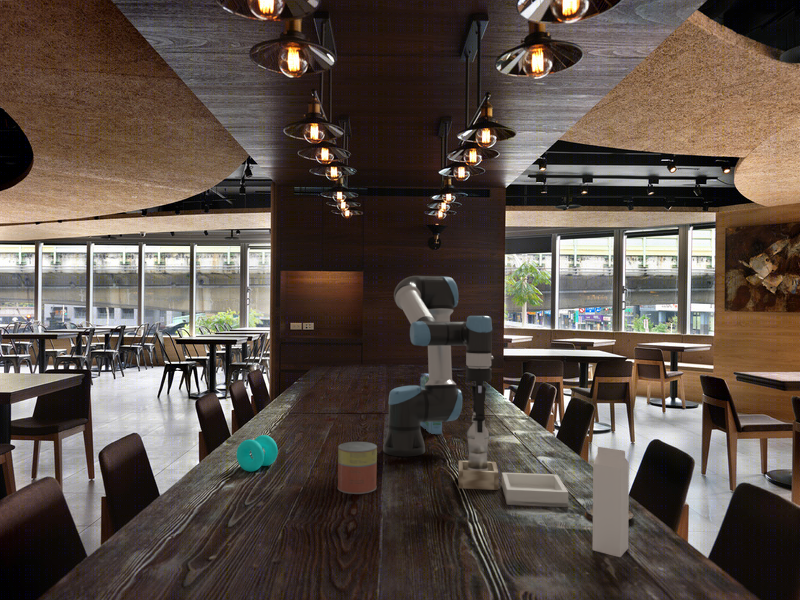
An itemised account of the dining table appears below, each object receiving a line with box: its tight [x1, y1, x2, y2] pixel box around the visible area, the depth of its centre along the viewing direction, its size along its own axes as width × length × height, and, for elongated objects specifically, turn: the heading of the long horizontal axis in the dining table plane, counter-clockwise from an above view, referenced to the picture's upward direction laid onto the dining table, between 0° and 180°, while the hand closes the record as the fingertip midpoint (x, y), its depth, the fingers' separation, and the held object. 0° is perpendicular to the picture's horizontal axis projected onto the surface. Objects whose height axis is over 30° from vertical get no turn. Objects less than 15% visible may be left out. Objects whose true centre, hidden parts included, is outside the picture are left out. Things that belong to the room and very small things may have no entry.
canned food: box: [337, 441, 378, 495], centre depth 166 cm, size 11×11×12 cm
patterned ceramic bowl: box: [584, 504, 635, 522], centre depth 145 cm, size 12×12×8 cm
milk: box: [592, 446, 630, 558], centre depth 126 cm, size 6×6×22 cm
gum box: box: [419, 373, 443, 435], centre depth 246 cm, size 20×5×23 cm, turn 13°
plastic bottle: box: [466, 414, 490, 471], centre depth 172 cm, size 6×7×20 cm
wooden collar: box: [457, 460, 499, 491], centre depth 172 cm, size 11×11×5 cm
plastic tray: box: [501, 472, 569, 508], centre depth 161 cm, size 16×16×4 cm
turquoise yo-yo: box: [236, 434, 279, 473], centre depth 184 cm, size 10×10×10 cm
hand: (478, 438), depth 172 cm, fingers open, 13 cm apart
